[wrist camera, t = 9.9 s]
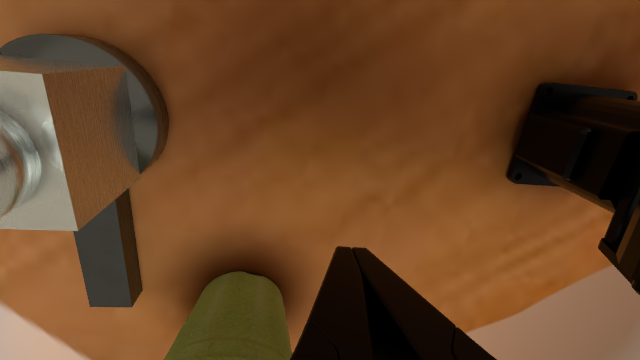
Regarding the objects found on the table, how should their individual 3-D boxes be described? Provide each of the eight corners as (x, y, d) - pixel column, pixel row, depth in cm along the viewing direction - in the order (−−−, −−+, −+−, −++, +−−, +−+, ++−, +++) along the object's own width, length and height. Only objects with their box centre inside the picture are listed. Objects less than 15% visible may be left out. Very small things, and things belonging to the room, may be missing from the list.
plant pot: (266, 228, 21) (251, 334, 13) (326, 317, 25) (343, 443, 17) (150, 284, 22) (73, 414, 14) (224, 362, 26) (195, 501, 18)
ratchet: (-6, 27, 16) (-128, 17, 11) (162, 45, 17) (113, 43, 12) (61, 288, 22) (0, 352, 17) (181, 291, 23) (154, 352, 18)
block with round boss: (125, 66, 15) (2, 77, 9) (140, 177, 17) (51, 254, 11) (-9, 54, 14) (-252, 58, 8) (24, 172, 17) (-146, 250, 10)
